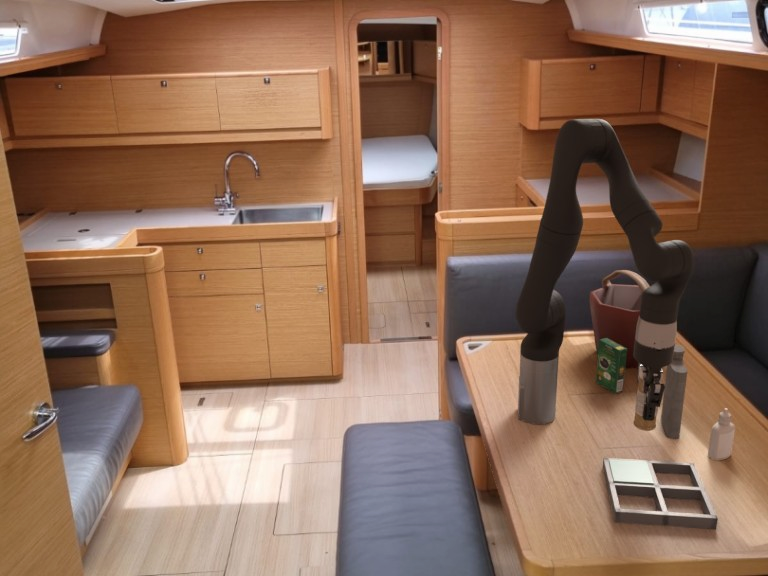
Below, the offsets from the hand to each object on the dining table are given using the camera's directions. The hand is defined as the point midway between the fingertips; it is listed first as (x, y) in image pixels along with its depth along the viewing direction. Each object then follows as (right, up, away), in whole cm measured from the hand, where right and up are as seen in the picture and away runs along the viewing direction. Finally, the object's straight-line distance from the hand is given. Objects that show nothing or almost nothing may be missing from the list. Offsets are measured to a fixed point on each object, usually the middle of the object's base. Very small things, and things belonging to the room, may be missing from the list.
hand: (645, 413), depth 151 cm
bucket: (+18, +6, +64) cm, 67 cm away
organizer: (+2, -17, +1) cm, 18 cm away
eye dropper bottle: (+22, -12, +14) cm, 28 cm away
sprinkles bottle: (0, -3, +1) cm, 3 cm away
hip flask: (+16, -7, +28) cm, 33 cm away
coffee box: (+7, -1, +46) cm, 46 cm away
